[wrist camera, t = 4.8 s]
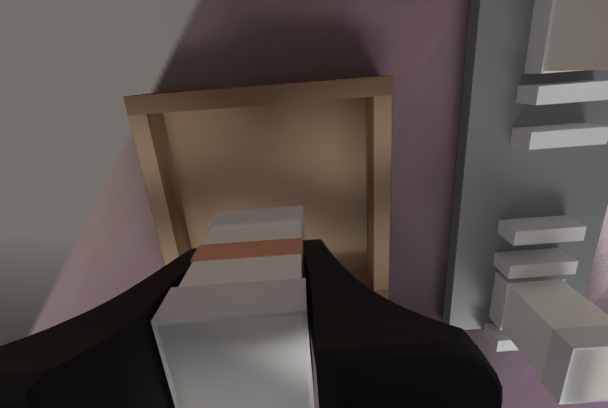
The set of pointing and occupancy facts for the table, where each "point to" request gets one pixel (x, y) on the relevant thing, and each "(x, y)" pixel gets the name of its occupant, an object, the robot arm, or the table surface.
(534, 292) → the block
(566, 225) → the fuse holder
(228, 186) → the tray
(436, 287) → the table surface
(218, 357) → the block
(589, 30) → the block
